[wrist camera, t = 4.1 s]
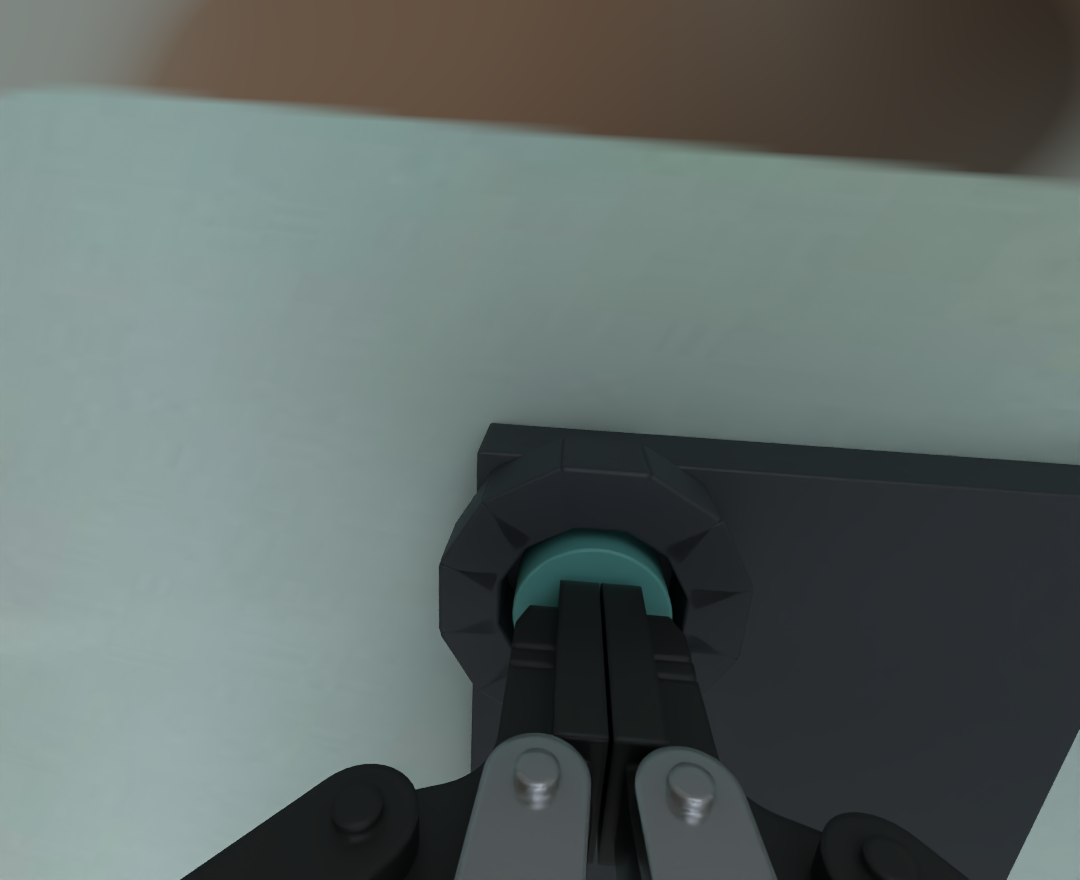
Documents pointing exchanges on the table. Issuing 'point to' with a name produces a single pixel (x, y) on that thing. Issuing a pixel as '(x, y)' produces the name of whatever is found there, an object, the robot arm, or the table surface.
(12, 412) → the table surface
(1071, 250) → the table surface
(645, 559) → the button
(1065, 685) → the scale
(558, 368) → the table surface
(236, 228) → the table surface
